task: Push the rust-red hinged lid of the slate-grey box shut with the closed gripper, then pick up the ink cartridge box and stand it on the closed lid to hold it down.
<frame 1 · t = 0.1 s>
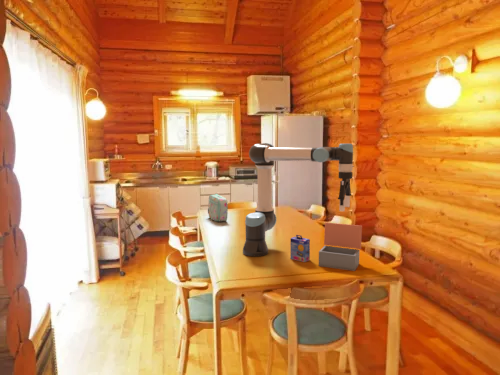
hand: (344, 209, 214), 28 cm above the table, tool pointing down, fingers open, 13 cm apart
box: (338, 264, 204), on the table
lid: (342, 235, 209), point 14 cm above the table, hinge at 95.0°
lunch box: (217, 220, 319), on the table
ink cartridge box: (299, 259, 214), on the table
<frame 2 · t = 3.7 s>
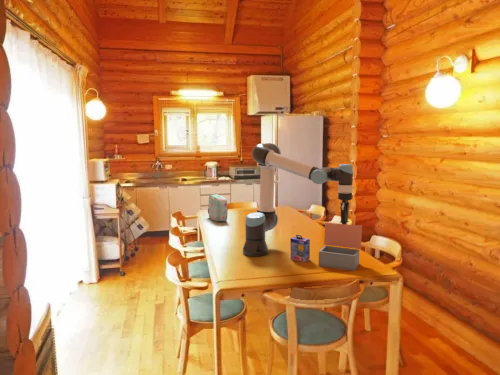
hand: (344, 233, 213), 14 cm above the table, tool pointing down, fingers closed
lid: (342, 235, 209), point 14 cm above the table, hinge at 94.8°, touching gripper
everything else where it was.
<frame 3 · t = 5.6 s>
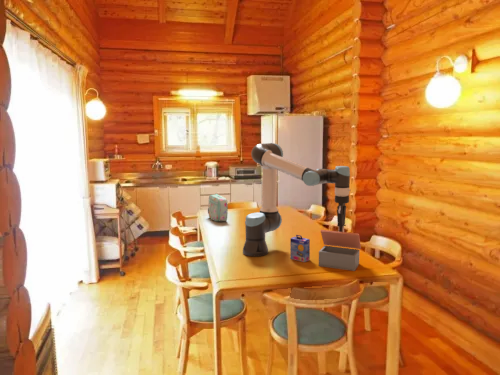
hand: (341, 238, 206), 14 cm above the table, tool pointing down, fingers closed
lid: (340, 239, 205), point 13 cm above the table, hinge at 50.1°, touching gripper
everything else where it was.
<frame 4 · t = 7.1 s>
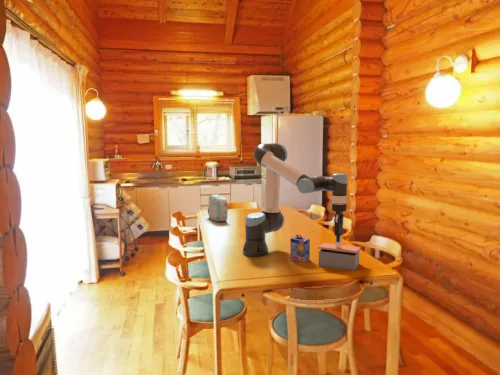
hand: (338, 247, 200), 11 cm above the table, tool pointing down, fingers closed
lid: (339, 247, 203), point 9 cm above the table, hinge at 5.3°, touching gripper
everything else where it was.
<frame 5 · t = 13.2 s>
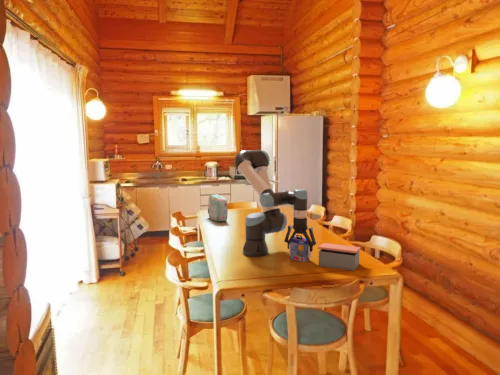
hand: (299, 255, 213), 2 cm above the table, tool pointing down, fingers closed on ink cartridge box, 10 cm apart
lid: (339, 247, 203), point 9 cm above the table, hinge at 5.0°
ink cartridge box: (299, 259, 214), on the table, touching gripper
everything else where it was.
when the fingers open (13 cm above the table, at t = 20.8 s): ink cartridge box drops 1 cm, resting on lid.
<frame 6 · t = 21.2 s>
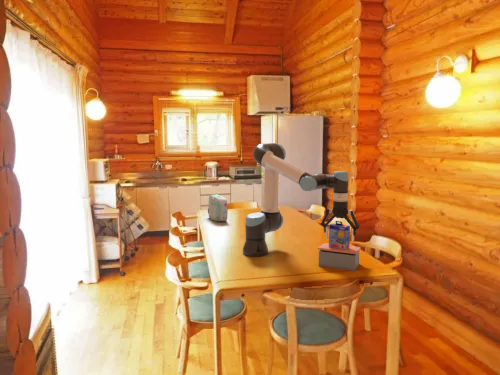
hand: (339, 239, 203), 14 cm above the table, tool pointing down, fingers open, 13 cm apart
lid: (339, 248, 203), point 9 cm above the table, hinge at 2.8°, touching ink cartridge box
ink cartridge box: (338, 247, 203), point 9 cm above the table, touching lid
everything else where it was.
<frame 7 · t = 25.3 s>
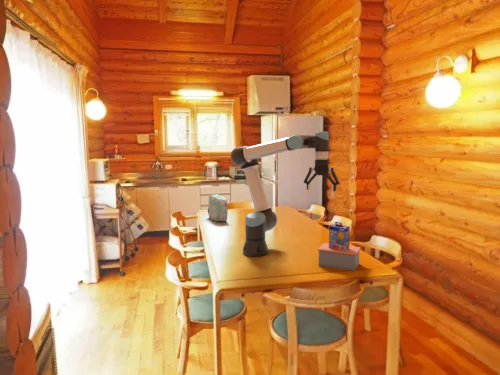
hand: (321, 196, 217), 35 cm above the table, tool pointing down, fingers open, 13 cm apart
lid: (339, 248, 203), point 9 cm above the table, hinge at -0.1°, touching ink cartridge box
everything else where it was.
at the end: lid at +0° (first picture: +95°); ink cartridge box inside the target area on the box (0.3 cm from its centre), point 9.1 cm above the box's base; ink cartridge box tilted 0° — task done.
